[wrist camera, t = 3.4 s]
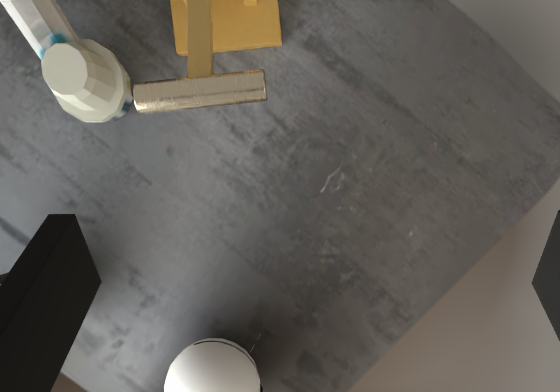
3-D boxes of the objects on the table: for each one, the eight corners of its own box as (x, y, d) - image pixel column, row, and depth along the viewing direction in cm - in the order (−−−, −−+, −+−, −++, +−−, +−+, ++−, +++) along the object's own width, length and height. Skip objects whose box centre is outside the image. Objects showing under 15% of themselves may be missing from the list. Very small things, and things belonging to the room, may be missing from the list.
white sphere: (216, 423, 42) (201, 483, 34) (158, 360, 41) (130, 407, 34) (306, 351, 41) (309, 397, 34) (248, 285, 40) (238, 318, 33)
